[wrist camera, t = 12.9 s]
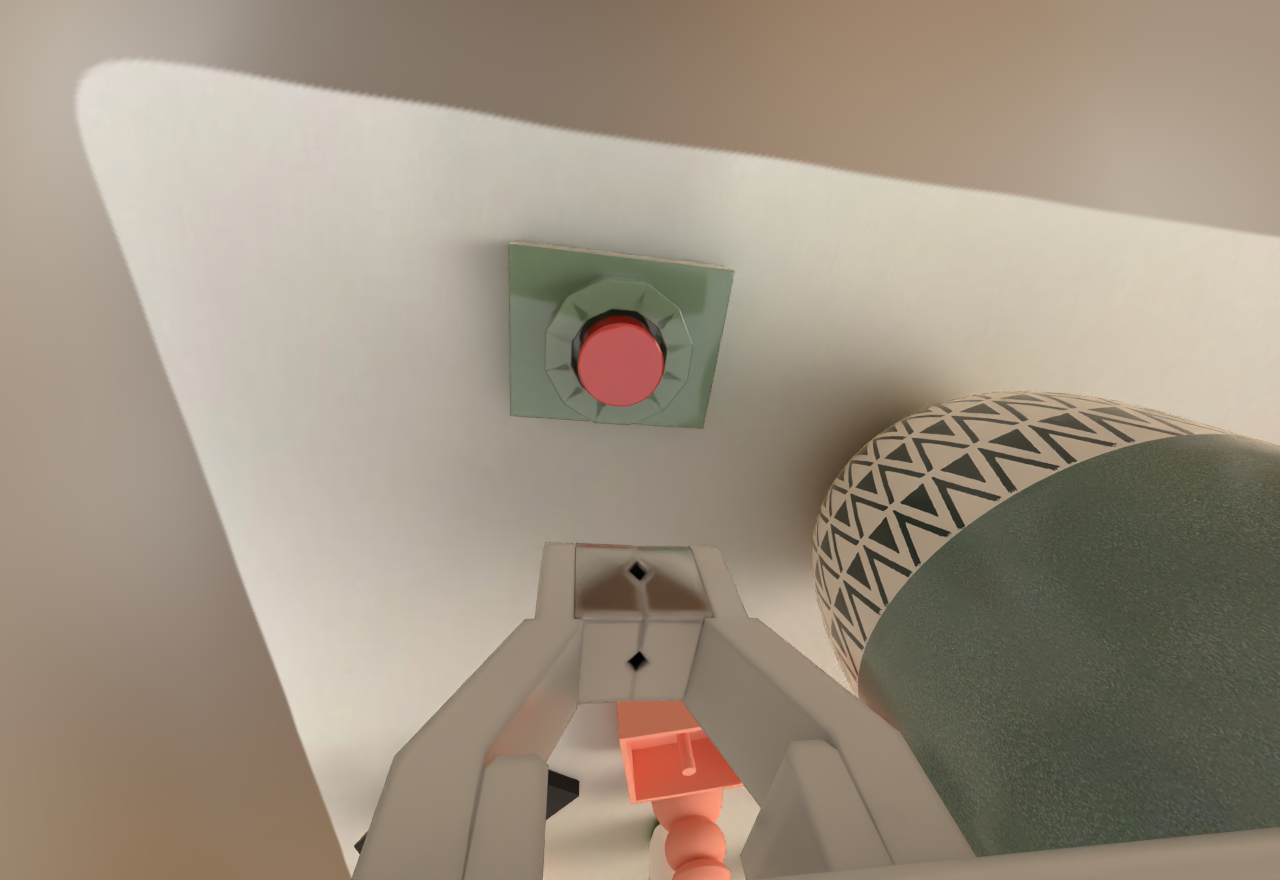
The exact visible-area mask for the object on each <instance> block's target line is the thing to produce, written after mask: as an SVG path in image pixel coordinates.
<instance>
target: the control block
mask: <svg viewBox="0 0 1280 880" xmlns="http://www.w3.org/2000/svg"><path fill="white" fill-rule="evenodd" d="M733 277H734V270H732V269H729V268H727V267H724V266H722V265H715V264H706V263H698V262H690V261H682V260H673V259H665V258H657V257H649V256H640V255H632V254H624V253H616V252H607V251H599V250H591V249H583V248H575V247H566V246H558V245H550V244H542V243H533V242H525V241H515V242H512V243H510V244H509V339H510V416H520V417H535V418H549V419H564V420H579V421H592V422H595V423H606V424H621V425H630V424H638V425H653V426H668V427H683V428H698V429H703V427H704V422H705V417H706V412H707V407H708V402H709V397H710V392H711V387H712V382H713V377H714V372H715V367H716V362H717V357H718V352H719V347H720V342H721V337H722V332H723V327H724V322H725V317H726V312H727V307H728V302H729V297H730V292H731V287H732V282H733ZM614 315H624V316H629V317H633V318H635V319H637V320H639V321H641V322H642V323H644V324H645V325H646V326H647V327H648V328H649V329H650V330H651V332H652V333H653V335H654V337H655V338H656V340H657V342H658V344H659V346H660V348H661V351H662V354H663V359H664V370H663V375H662V378H661V381H660V383H659V385H658V386H657V388H656V389H655V390H654V392H653V393H652V394H651V395H650V396H648V397H647V398H646V399H644V400H643V401H641V402H639V403H636V404H634V405H630V406H623V407H617V406H610V405H607V404H604V403H602V402H600V401H598V400H596V399H595V398H593V397H592V396H591V395H590V394H589V393H588V392H587V391H586V389H585V388H584V386H583V385H582V383H581V380H580V377H579V374H578V352H579V346H580V342H581V340H582V337H583V336H584V334H585V332H586V331H587V330H588V329H589V328H590V327H591V326H592V325H593V324H594V323H596V322H597V321H599V320H601V319H603V318H605V317H609V316H614Z"/></svg>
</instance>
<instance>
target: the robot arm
mask: <svg viewBox="0 0 1280 880" xmlns="http://www.w3.org/2000/svg"><path fill="white" fill-rule="evenodd" d="M624 701H684V703H683V704H684V705H685V707H686V708H687V709H688V711H689V712H690V713H691V715H692V716H693V718H694V719H695V720H696V722H697V723H698V724H699V726H700V727H701V728H702V730H703V731H704V732H705V734H706V735H707V736H708V738H709V739H710V740H711V742H712V743H713V744H714V746H715V747H716V748H717V750H718V751H719V752H720V754H721V755H722V756H723V758H724V759H725V760H726V762H727V763H728V764H729V766H730V767H731V769H732V770H733V771H734V773H735V774H736V775H737V777H738V778H739V779H740V781H741V782H742V783H743V785H744V786H745V787H746V789H747V790H748V791H749V793H750V794H751V795H752V797H753V798H754V799H755V801H756V802H757V803H758V805H759V806H760V807H761V810H760V812H759V814H758V816H757V819H756V821H755V823H754V825H753V828H752V830H751V832H750V834H749V837H748V839H747V841H746V843H745V845H744V848H743V850H742V852H741V854H740V857H741V861H742V865H743V869H744V874H745V878H746V880H1280V827H1275V828H1264V829H1254V830H1244V831H1234V832H1224V833H1214V834H1204V835H1194V836H1184V837H1174V838H1164V839H1154V840H1144V841H1134V842H1124V843H1114V844H1103V845H1093V846H1083V847H1073V848H1063V849H1053V850H1043V851H1033V852H1023V853H1013V854H1003V855H993V856H983V857H976V855H975V854H974V852H973V850H972V849H971V847H970V845H969V844H968V842H967V841H966V839H965V837H964V836H963V834H962V832H961V831H960V829H959V828H958V826H957V824H956V823H955V821H954V819H953V818H952V816H951V814H950V813H949V811H948V810H947V808H946V806H945V805H944V803H943V801H942V800H941V798H940V796H939V795H938V793H937V792H936V790H935V788H934V787H933V785H932V783H931V782H930V780H929V778H928V777H927V775H926V774H925V772H924V770H923V769H922V767H921V765H920V764H919V762H918V760H917V759H916V757H915V756H914V754H913V752H912V751H911V749H910V747H909V746H908V744H907V742H906V741H905V739H904V738H903V736H902V734H901V733H900V732H899V731H897V730H896V729H895V728H894V727H892V726H891V725H890V724H889V723H887V722H886V721H885V720H884V719H882V718H881V717H880V716H879V715H878V714H876V713H875V712H874V711H873V710H871V709H870V708H869V707H868V706H866V705H865V704H864V703H863V702H861V701H860V700H859V699H858V698H856V697H855V696H854V695H853V694H851V693H850V692H849V691H848V690H846V689H845V688H844V687H843V686H841V685H840V684H839V683H838V682H836V681H835V680H834V679H833V678H831V677H830V676H829V675H828V674H826V673H825V672H824V671H823V670H822V669H820V668H819V667H818V666H817V665H815V664H814V663H813V662H812V661H810V660H809V659H808V658H807V657H805V656H804V655H803V654H802V653H800V652H799V651H798V650H797V649H795V648H794V647H793V646H792V645H790V644H789V643H788V642H787V641H785V640H784V639H783V638H782V637H780V636H779V635H778V634H777V633H775V632H774V631H773V630H772V629H770V628H769V627H768V626H767V625H766V624H764V623H763V622H762V621H761V620H759V619H758V618H749V617H748V615H747V613H746V610H745V608H744V606H743V603H742V601H741V598H740V596H739V594H738V591H737V589H736V587H735V584H734V582H733V579H732V577H731V575H730V572H729V570H728V568H727V565H726V563H725V560H724V558H723V556H722V553H721V551H720V549H719V548H718V547H717V546H688V547H686V546H633V545H611V544H588V543H576V544H574V543H554V542H545V544H544V546H543V552H542V560H541V569H540V578H539V586H538V595H537V604H536V612H535V619H524V620H523V622H522V623H521V624H520V625H519V626H518V627H517V628H516V629H515V630H514V631H513V632H512V633H511V634H510V635H509V636H508V637H507V638H506V639H505V640H504V642H503V643H502V644H501V645H500V646H499V647H498V648H497V649H496V650H495V651H494V652H493V653H492V654H491V655H490V656H489V657H488V658H487V659H486V660H485V662H484V663H483V664H482V665H481V666H480V667H479V668H478V669H477V670H476V671H475V672H474V673H473V674H472V675H471V676H470V677H469V678H468V679H467V680H466V682H465V683H464V684H463V685H462V686H461V687H460V688H459V689H458V690H457V691H456V692H455V693H454V694H453V695H452V696H451V697H450V698H449V699H448V700H447V702H446V703H445V704H444V705H443V706H442V707H441V708H440V709H439V710H438V711H437V712H436V713H435V714H434V715H433V716H432V717H431V718H430V719H429V720H428V722H427V723H426V724H425V725H424V726H423V727H422V728H421V729H420V730H419V731H418V732H417V733H416V734H415V735H414V736H413V737H412V738H411V739H410V740H409V742H408V743H407V744H406V745H405V746H404V747H403V748H402V749H401V750H400V751H399V752H398V753H397V754H396V755H395V756H394V759H393V762H392V764H391V767H390V770H389V773H388V776H387V779H386V782H385V785H384V787H383V790H382V793H381V796H380V799H379V802H378V805H377V807H376V810H375V813H374V816H373V819H372V822H371V825H370V827H369V830H368V833H367V836H366V839H365V842H364V845H363V847H362V850H361V853H360V856H359V859H358V862H357V865H356V867H355V870H354V873H353V876H352V879H351V880H543V865H544V845H545V825H546V805H547V785H548V764H547V763H546V762H547V760H548V758H549V756H550V755H551V753H552V751H553V749H554V748H555V746H556V744H557V742H558V740H559V739H560V737H561V735H562V733H563V732H564V730H565V728H566V726H567V725H568V723H569V721H570V719H571V718H572V716H573V714H574V712H575V711H576V709H577V704H593V703H609V702H624Z"/></svg>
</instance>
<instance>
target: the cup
mask: <svg viewBox="0 0 1280 880" xmlns="http://www.w3.org/2000/svg"><path fill="white" fill-rule="evenodd" d="M668 833H669V832H668V831H667V830H666V829H665V828H664V827H663V826H662V825H661V824H660V823H659V824H658V826H657V827H656V828H655V830H654V832H653V835H652V838H651V841H650V844H649V880H672V878H673V875H674V873H675V871H673V870H672V868H671V867H670V865H669V864H668V862H667V859H666V856H665V842H666V838H667V835H668Z"/></svg>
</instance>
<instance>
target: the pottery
mask: <svg viewBox="0 0 1280 880" xmlns="http://www.w3.org/2000/svg"><path fill="white" fill-rule="evenodd" d="M683 703H684V701H624V702H617V712H618V729H619V742H620V747H621V753H622V758H623V763H624V769H625V774H626V779H627V785H628V790H629V796H630V801H631V804H636V803H642V802H648V801H652V807H653V810H654V813H655V815H656V817H657V819H658V821H659V822H660V824H661V825H662V826H663V827H664V828H665V829H666V830H667V831H668V832H669V833H668V835H667V838H666V842H665V856H666V859H667V862H668V864H669V865H670V867H671V868H672V870H673V871H675V873H674V875H673V878H672V880H731V874H730V872H729V870H728V869H727V867H726V866H725V865H724V864H723V863H722V862H723V860H724V857H725V854H726V841H725V838H724V835H723V832H722V831H721V830H720V828H719V827H718V826H717V825H716V824H715V822H716V821H717V819H718V817H719V815H720V811H721V808H722V789H728V788H734V787H740V786H744V785H743V783H742V782H741V781H740V779H739V778H738V777H737V775H736V774H735V773H734V771H733V770H732V769H731V767H730V766H729V764H728V763H727V762H726V760H725V759H724V758H723V756H722V755H721V754H720V752H719V751H718V750H717V748H716V747H715V746H714V744H713V743H712V742H711V740H710V739H709V738H708V736H707V735H706V734H705V732H704V731H703V730H702V728H701V727H700V726H699V724H698V723H697V722H696V720H695V719H694V718H693V716H692V715H691V713H690V712H689V711H688V709H687V708H686V707H685V705H684V704H683Z"/></svg>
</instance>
